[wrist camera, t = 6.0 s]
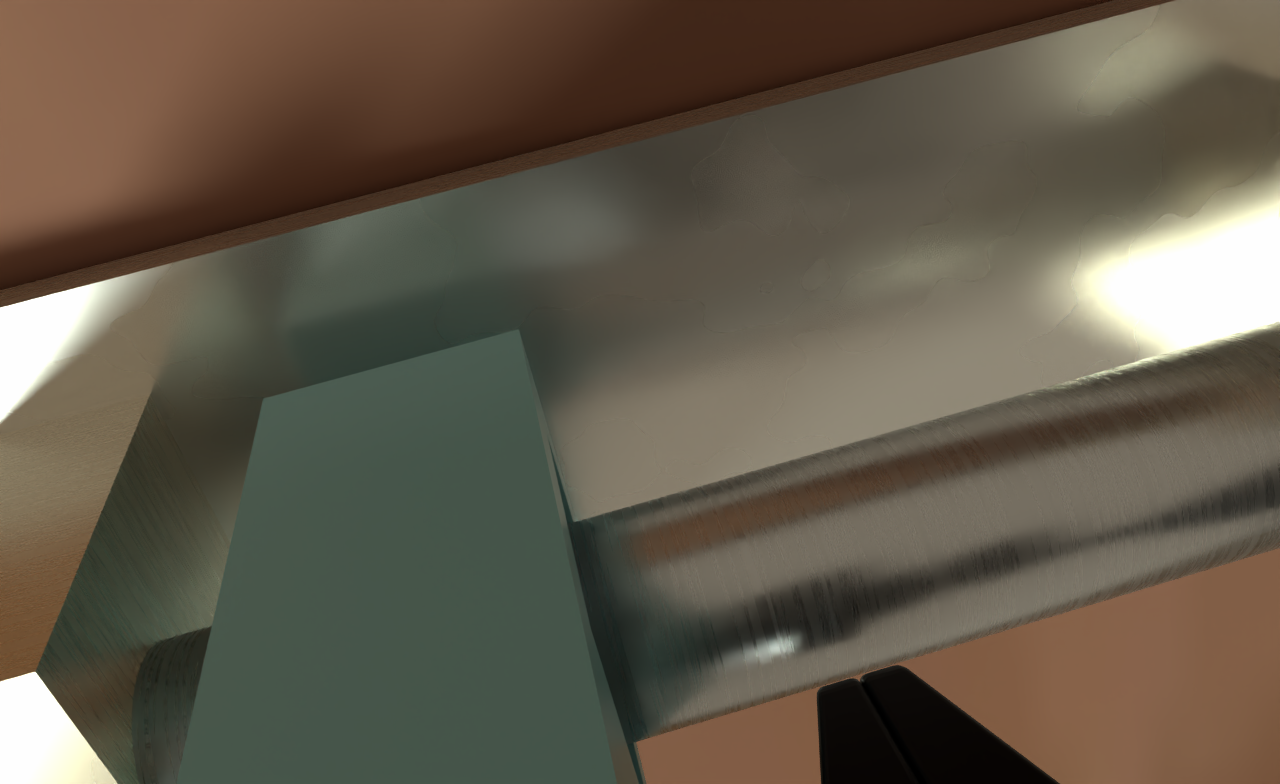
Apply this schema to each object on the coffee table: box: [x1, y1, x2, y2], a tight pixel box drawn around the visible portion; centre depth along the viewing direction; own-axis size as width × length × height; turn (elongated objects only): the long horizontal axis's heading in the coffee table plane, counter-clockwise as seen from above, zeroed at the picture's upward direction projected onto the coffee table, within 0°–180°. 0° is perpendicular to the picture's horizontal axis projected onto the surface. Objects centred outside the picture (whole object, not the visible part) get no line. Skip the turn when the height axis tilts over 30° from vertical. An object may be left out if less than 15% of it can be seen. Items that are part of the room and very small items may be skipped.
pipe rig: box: [0, 0, 1280, 784], centre depth 12 cm, size 21×8×5 cm, turn 101°
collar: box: [176, 329, 646, 784], centre depth 10 cm, size 3×5×7 cm, turn 11°
